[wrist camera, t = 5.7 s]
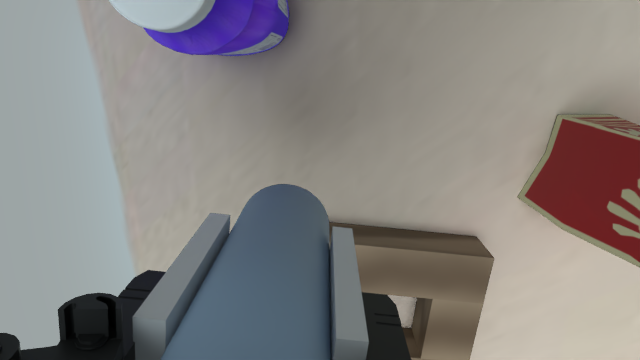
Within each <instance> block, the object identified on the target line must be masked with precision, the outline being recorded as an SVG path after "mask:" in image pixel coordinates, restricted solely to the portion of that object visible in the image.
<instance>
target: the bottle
mask: <svg viewBox="0 0 640 360" xmlns="http://www.w3.org/2000/svg"><path fill="white" fill-rule="evenodd" d="M109 2H110V3H111V4H112V6H113V7H114V8H115V9H116V10H117V11H118V12H119V13H120V14H121V15H122V16H124V17H125V18H126V19H128V20H129V21H131V22H132V23H134V24H136V25H138V26H141V27H143V28H144V29H145V31H146V32H147V33H148V34H149V36H151V37H152V38H153V39H154V40H155V41H157V42H158V43H160V44H161V45H163V46H165V47H168V48H170V49H172V50H175V51H177V52H181V53H186V54H191V55H194V54H195V55H213V54H217V55H224V56H241V55H250V54H256V53H260V52H264V51H267V50H269V49H272V48H273V47H275V46H276V45H278V44H279V43H280V42H281V41H282V40H283V38H284V37H285V35H286V33H287V30H288V25H289V22H288V20H289V8H288V1H287V0H109Z"/></svg>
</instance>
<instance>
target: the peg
mask: <svg viewBox="0 0 640 360" xmlns="http://www.w3.org/2000/svg"><path fill="white" fill-rule="evenodd" d="M329 250H330V242H329V219H328V215H327V212H326V210H325V208H324V206H323V205H322V203H321V202H320V201H319V200H318V198H317V197H316V196H314V195H313V194H312V193H311V192H309V191H307V190H306V189H303V188H301V187H298V186H295V185H289V184H278V185H272V186H269V187H266V188H264V189H262V190H260V191H258V192H257V193H256V194H254V195H253V196H252V197H251V198H250V199H249V201H248V202H247V204H246V205H245V207H244V209H243V210H242V212H241V214H240V216H239V218H238V219H237V221H236V223H235V225H234V227H233V229H232V230H231V232H230V234H229V236H228V238H227V239H226V241H225V243H224V245H223V247H222V248H221V250H220V252H219V254H218V256H217V258H216V259H215V261H214V263H213V265H212V267H211V268H210V270H209V272H208V274H207V276H206V277H205V279H204V281H203V283H202V285H201V287H200V288H199V290H198V292H197V294H196V296H195V297H194V299H193V301H192V303H191V305H190V306H189V308H188V310H187V312H186V314H185V316H184V317H183V319H182V321H181V323H180V325H179V326H178V328H177V330H176V332H175V334H174V335H173V337H172V339H171V341H170V343H169V344H168V346H167V348H166V350H165V352H164V354H163V355H162V357H161V359H160V360H331V325H330V253H329Z"/></svg>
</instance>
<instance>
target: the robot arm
mask: <svg viewBox="0 0 640 360" xmlns="http://www.w3.org/2000/svg"><path fill="white" fill-rule="evenodd" d="M229 228H230V215H225V214H216V213H210V214H209V215H208V217H207V218H206V219H205V221H204V222H203V223H202V225H201V226H200V227H199V229H198V230H197V231H196V233H195V234H194V235H193V237H192V238H191V239H190V241H189V242H188V244H187V245H186V246H185V248H184V249H183V250H182V252H181V253H180V254H179V256H178V257H177V258H176V260H175V261H174V262H173V264H172V265H171V266H170V268H169V269H168V270H167V272H161V271H151V270H147V271H146V272H144V273H142V274H140V275H138V276H137V277H135V278H134V279H133V280H132V281H131V282H130V283H129V284H128V285H127V287H126V288H125V290H123V291H122V292H121V293H120V295H119V296H118V297H116V296H114V295H111V294H105V293H94V294H86V295H82V296H79V297H75V298H74V299H71V300H70V301H68V302H66V303H64V304H63V305H62V306H61V307H60V308H59V309H58V316H59V329H60V342H59V344H58V345H57V346H51V347H44V348H36V349H27V350H20V342H19V340H18V339H17V338H16V337H15V336H14V335H11V334H7V333H0V360H160V359H161V357H162V355H163V354H164V352H165V350H166V348H167V346H168V344H169V343H170V341H171V339H172V337H173V335H174V334H175V332H176V330H177V328H178V326H179V325H180V323H181V321H182V319H183V317H184V316H185V314H186V312H187V310H188V308H189V306H190V305H191V303H192V301H193V299H194V297H195V296H196V294H197V292H198V290H199V288H200V287H201V285H202V283H203V281H204V279H205V277H206V276H207V274H208V272H209V270H210V268H211V267H212V265H213V263H214V261H215V259H216V258H217V256H218V254H219V252H220V250H221V248H222V247H223V245H224V243H225V241H226V239H227V238H228V236H229ZM329 253H330V325H331V360H412V359H411V357H410V354H409V350H408V346H407V343H406V339H405V336H404V332H403V328H402V327H401V321H400V318H399V314H398V311H397V307H396V304H395V303H394V302H393V301H392V300H391V299H390V298H389V297H388V295H385V294H375V293H366V292H361V285H360V278H359V272H358V265H357V258H356V251H355V245H354V238H353V231H352V228H343V227H334V226H333V227H332V235H331V242H330V250H329Z"/></svg>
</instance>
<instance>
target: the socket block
mask: <svg viewBox="0 0 640 360" xmlns="http://www.w3.org/2000/svg"><path fill="white" fill-rule="evenodd" d="M333 226H334V227H343V228H352V231H353V238H354V245H355V251H356V258H357V265H358V272H359V278H360V285H361V292H366V293H376V294H386V295H397V296H407V297H417V302H416V307H415V313H414V318H413V323H412V329H410V328H403V332H404V336H405V339H406V343H407V346H408V350H409V354H410V357H411V359H412V360H470V356H471V352H472V348H473V343H474V339H475V335H476V331H477V327H478V323H479V319H480V315H481V311H482V307H483V302H484V298H485V294H486V290H487V286H488V282H489V278H490V274H491V270H492V266H493V261H494V257H493V256H492V255H491V254H490V252H489V251H488V250H487V249H486V248H485V246H484V245H483V244H482V243H481V242H480V240H479V239H478V238H477V237H475V236H465V235H454V234H444V233H434V232H424V231H413V230H403V229H393V228H383V227H372V226H362V225H352V224H342V223H331V222H329V242H331V235H332V227H333Z"/></svg>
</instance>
